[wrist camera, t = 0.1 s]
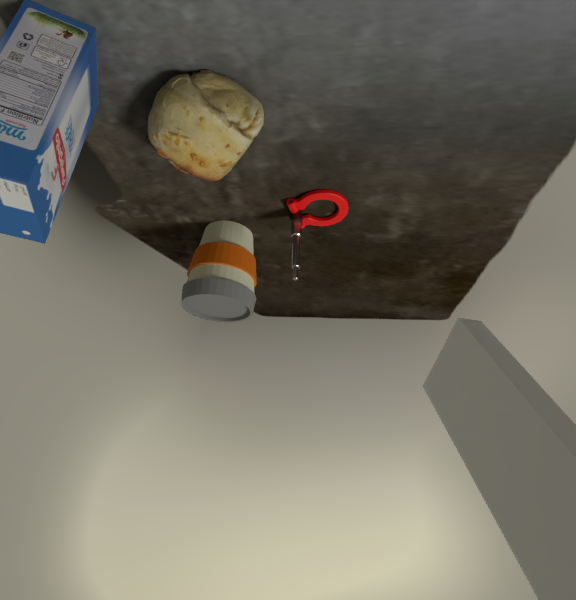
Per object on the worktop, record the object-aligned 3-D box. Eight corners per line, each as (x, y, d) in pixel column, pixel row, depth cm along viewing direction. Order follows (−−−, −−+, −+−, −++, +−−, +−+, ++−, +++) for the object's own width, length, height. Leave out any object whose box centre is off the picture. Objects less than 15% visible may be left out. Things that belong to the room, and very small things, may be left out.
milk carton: (24, -3, 36) (-71, 156, 28) (95, 27, 38) (26, 183, 30) (41, 84, 45) (-29, 226, 37) (98, 105, 47) (44, 244, 39)
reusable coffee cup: (191, 209, 65) (174, 289, 59) (265, 219, 66) (256, 298, 60) (198, 248, 76) (184, 318, 70) (260, 256, 77) (253, 325, 71)
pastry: (164, 148, 53) (152, 194, 50) (134, 59, 41) (116, 112, 38) (266, 156, 53) (260, 203, 50) (264, 70, 42) (257, 123, 38)
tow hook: (342, 182, 57) (283, 194, 60) (346, 257, 52) (281, 266, 54) (352, 215, 64) (299, 225, 67) (356, 284, 59) (298, 291, 61)
